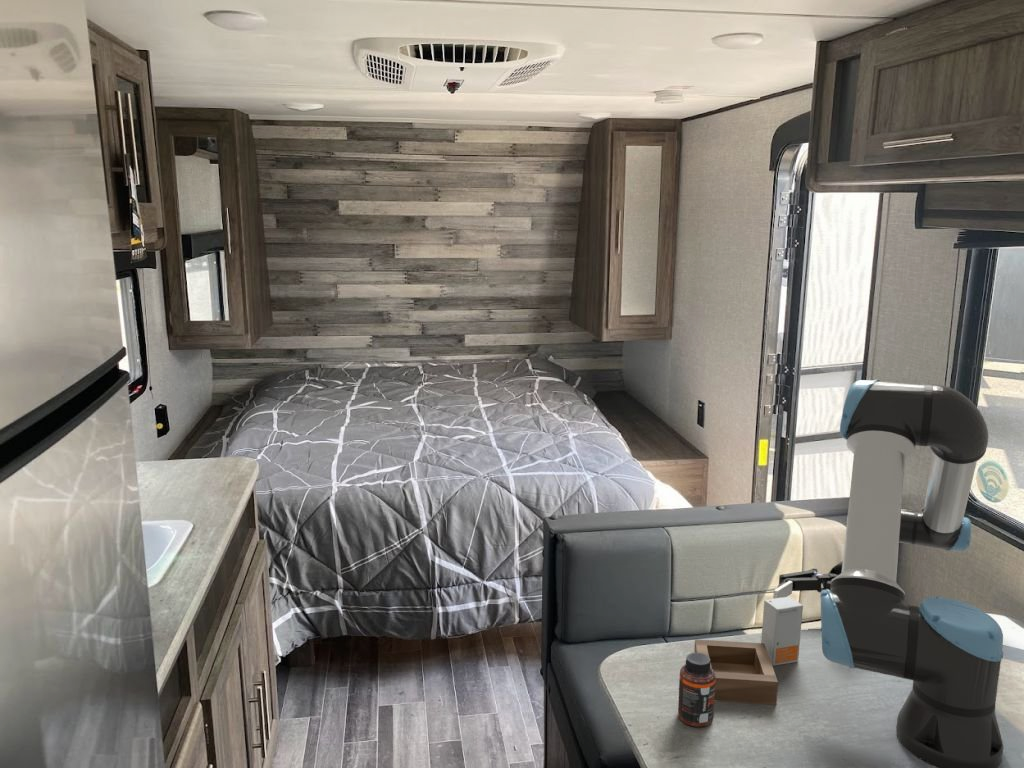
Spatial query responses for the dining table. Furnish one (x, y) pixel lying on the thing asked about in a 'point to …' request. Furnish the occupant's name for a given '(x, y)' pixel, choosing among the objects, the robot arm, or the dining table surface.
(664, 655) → the dining table surface
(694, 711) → the supplement bottle
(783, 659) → the skincare box
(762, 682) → the walnut tray
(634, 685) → the dining table surface
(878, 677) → the dining table surface
